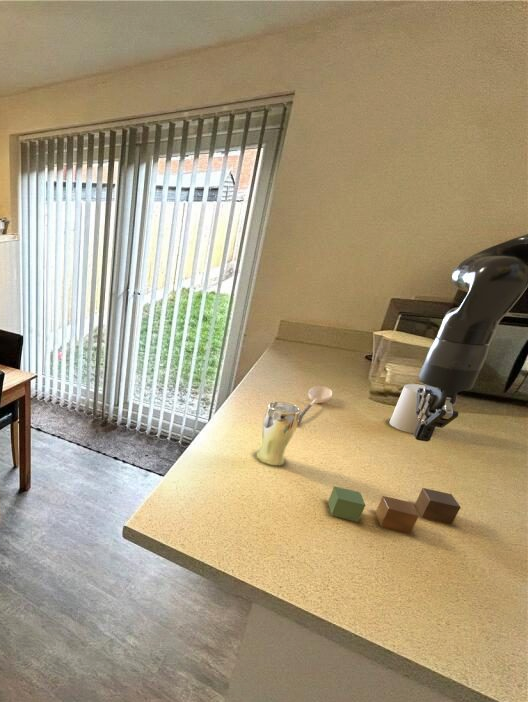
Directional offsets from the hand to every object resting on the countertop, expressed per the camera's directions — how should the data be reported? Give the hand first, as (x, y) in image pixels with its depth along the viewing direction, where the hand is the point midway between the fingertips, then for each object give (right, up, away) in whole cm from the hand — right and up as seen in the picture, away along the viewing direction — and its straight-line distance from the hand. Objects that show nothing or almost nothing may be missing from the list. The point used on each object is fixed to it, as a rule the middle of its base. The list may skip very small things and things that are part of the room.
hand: (420, 439), depth 82 cm
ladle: (+9, +3, +43) cm, 44 cm away
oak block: (-9, -17, -3) cm, 19 cm away
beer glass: (-20, -8, +19) cm, 28 cm away
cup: (+30, -1, +32) cm, 44 cm away
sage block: (-16, -16, +1) cm, 22 cm away
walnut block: (+2, -16, -1) cm, 16 cm away
